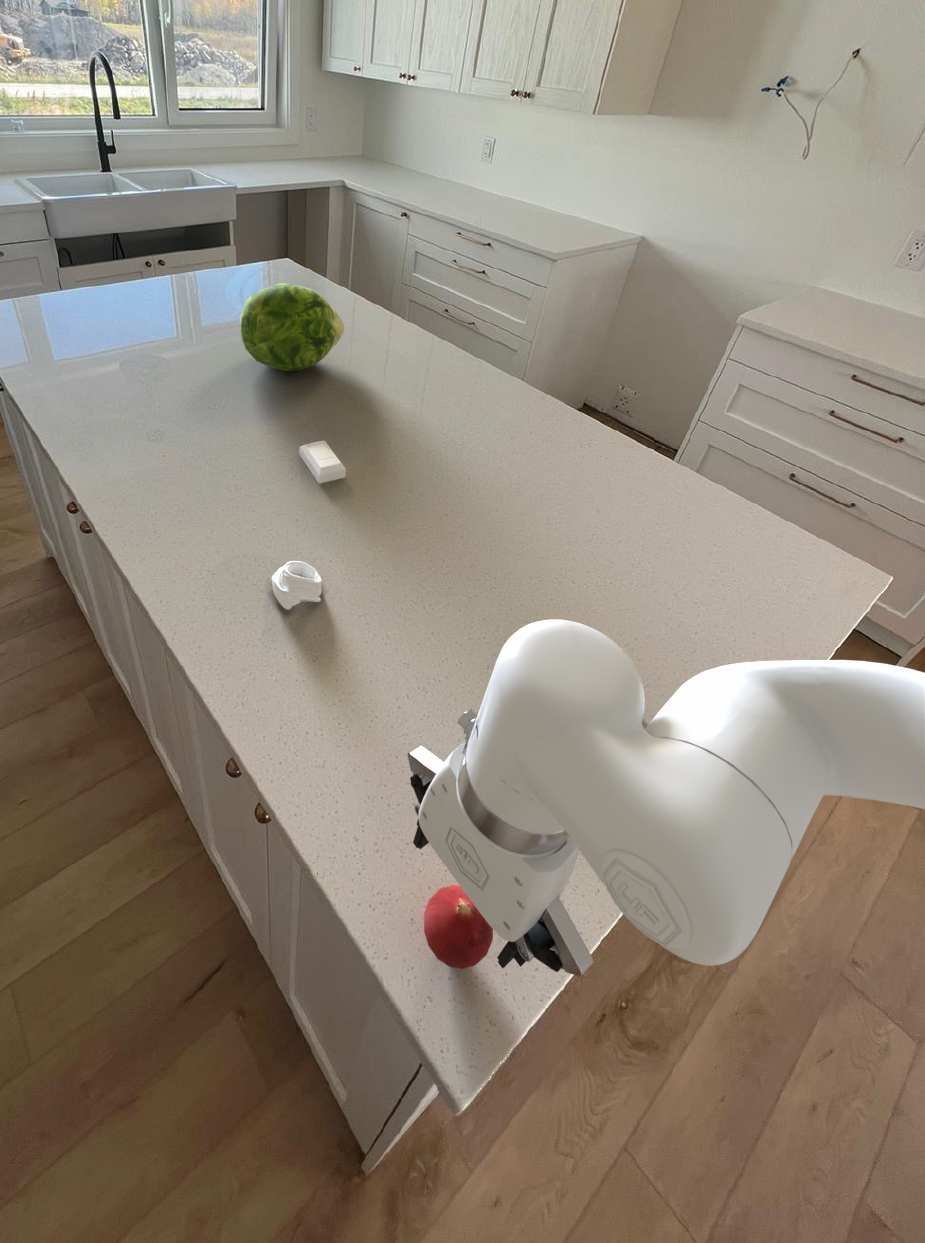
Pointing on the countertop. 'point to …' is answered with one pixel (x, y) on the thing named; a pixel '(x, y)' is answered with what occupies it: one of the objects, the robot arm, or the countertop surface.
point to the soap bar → (322, 462)
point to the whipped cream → (296, 584)
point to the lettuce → (289, 327)
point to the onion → (456, 928)
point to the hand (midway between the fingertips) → (469, 890)
